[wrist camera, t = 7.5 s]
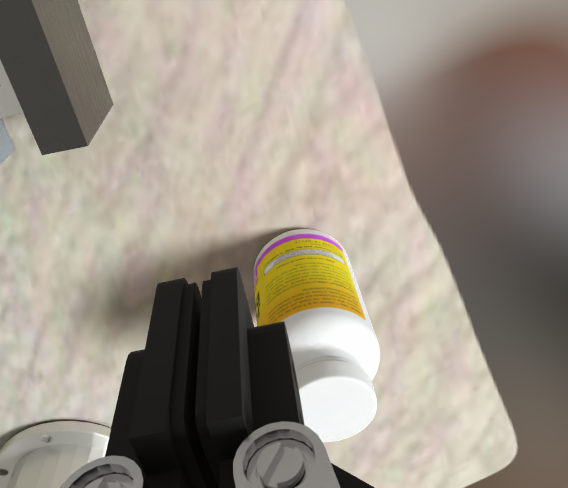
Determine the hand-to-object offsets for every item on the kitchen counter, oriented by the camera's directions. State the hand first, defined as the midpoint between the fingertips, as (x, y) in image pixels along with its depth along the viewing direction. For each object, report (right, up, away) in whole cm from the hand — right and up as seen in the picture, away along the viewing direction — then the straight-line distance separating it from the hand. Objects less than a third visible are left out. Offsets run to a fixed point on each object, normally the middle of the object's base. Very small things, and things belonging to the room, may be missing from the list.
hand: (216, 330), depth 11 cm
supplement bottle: (+3, 0, +26) cm, 26 cm away
